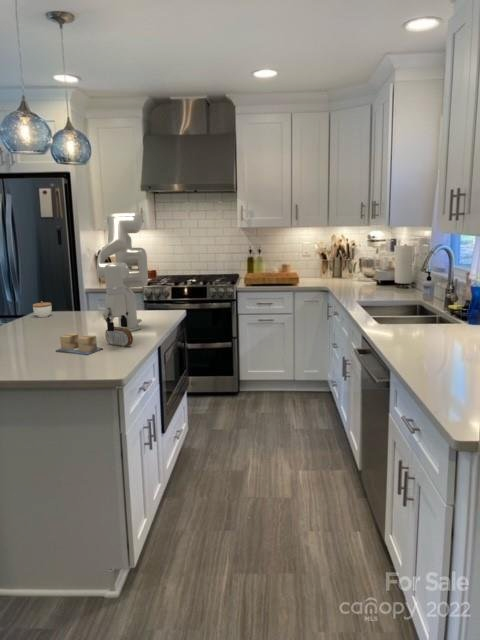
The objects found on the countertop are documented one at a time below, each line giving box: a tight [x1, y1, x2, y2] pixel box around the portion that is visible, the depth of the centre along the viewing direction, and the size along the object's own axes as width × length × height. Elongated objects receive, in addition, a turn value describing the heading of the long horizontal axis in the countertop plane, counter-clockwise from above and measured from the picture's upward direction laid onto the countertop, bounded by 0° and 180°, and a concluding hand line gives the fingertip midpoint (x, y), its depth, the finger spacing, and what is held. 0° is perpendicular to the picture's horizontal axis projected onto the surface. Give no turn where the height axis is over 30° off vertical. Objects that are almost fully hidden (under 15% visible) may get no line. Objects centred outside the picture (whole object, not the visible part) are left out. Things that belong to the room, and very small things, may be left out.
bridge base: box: [55, 333, 104, 356], centre depth 221 cm, size 10×18×7 cm, turn 66°
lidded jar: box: [32, 300, 53, 318], centre depth 301 cm, size 11×11×9 cm
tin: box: [105, 326, 134, 348], centre depth 228 cm, size 15×3×8 cm, turn 59°
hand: (117, 328), depth 226 cm, fingers open, 9 cm apart
